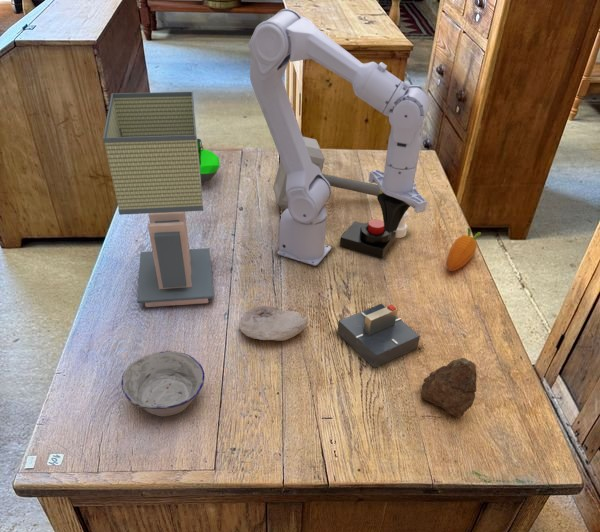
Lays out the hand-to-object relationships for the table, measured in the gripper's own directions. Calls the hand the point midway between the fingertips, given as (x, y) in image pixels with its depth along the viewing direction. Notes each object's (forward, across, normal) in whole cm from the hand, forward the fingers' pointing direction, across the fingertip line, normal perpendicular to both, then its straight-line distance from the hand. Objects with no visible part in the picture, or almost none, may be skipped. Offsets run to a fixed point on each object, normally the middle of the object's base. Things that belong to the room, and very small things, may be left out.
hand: (390, 230), depth 114 cm
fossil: (+10, -5, +31) cm, 32 cm away
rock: (+10, -36, +16) cm, 41 cm away
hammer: (+10, +28, -8) cm, 31 cm away
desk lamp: (+10, +18, +39) cm, 44 cm away
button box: (+9, +10, -3) cm, 14 cm away
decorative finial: (+10, +11, -12) cm, 19 cm away
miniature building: (+10, +56, +16) cm, 59 cm away
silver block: (+6, -17, +16) cm, 24 cm away
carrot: (+7, -9, -9) cm, 15 cm away
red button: (+6, +9, -4) cm, 11 cm away
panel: (+9, -17, +16) cm, 25 cm away
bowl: (+10, -10, +54) cm, 56 cm away
